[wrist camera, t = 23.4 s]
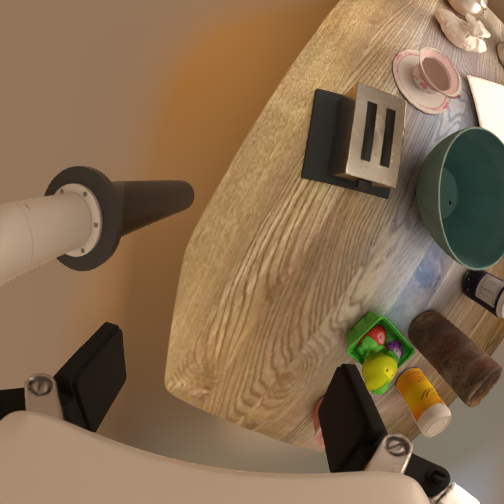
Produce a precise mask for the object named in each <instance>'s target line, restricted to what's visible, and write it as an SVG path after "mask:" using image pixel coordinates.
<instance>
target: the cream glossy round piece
mask: <svg viewBox="0 0 504 504" xmlns="http://www.w3.org/2000/svg"><path fill="white" fill-rule="evenodd" d="M447 1H448V3H449V4H450V6H451V7H452V8H453V9H454V10H455V11H456V12H458V13H459V14H461V15H463V16H466V13H469V14H470V15H472V16H474V17H478V16H482V15H483V14H484V10H487V0H447Z"/></svg>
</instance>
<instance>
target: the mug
mask: <svg viewBox="0 0 504 504" xmlns="http://www.w3.org/2000/svg"><path fill="white" fill-rule="evenodd" d="M497 52H498V56H499V58H500V60H501V63H502V64H503V66H504V42H502V43H500V44H498V46H497Z"/></svg>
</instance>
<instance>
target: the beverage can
mask: <svg viewBox="0 0 504 504" xmlns="http://www.w3.org/2000/svg"><path fill="white" fill-rule="evenodd" d="M463 291H464V294H465V295H466V296H468V297H469V298H471V299H472V300H474V301H475V302H477V303H478V304H480V305H481V306H483V307H484V308H485V309H487V310H488V311H490V312H491V313H493V314H494V315H495V316H497V317H499V318H501V317H502V318H504V281H503V280H501V279H499V278H497V277H495V276H493V275H492V274H490V273H488V272H486V271H484V270H470V271H468V272H467V274H466V275H465V277H464V280H463Z"/></svg>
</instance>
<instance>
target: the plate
mask: <svg viewBox="0 0 504 504" xmlns="http://www.w3.org/2000/svg"><path fill="white" fill-rule="evenodd" d="M467 78H468V82H469V85H470V88H471V92H472V95H473V99H474V103H475V107H476V111H477V115H478V119H479V124H480V127H482V128H485V129H487V130H489V131H491V132H492V133H494V134H495V135H496V136H497V137H498V138H499V139H500V140H501V141H502V142H503V143H504V86H503V85H500V84H497V83H494V82H491V81H488V80H484V79H481V78H477V77H474V76H470V75H468V76H467Z"/></svg>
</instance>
